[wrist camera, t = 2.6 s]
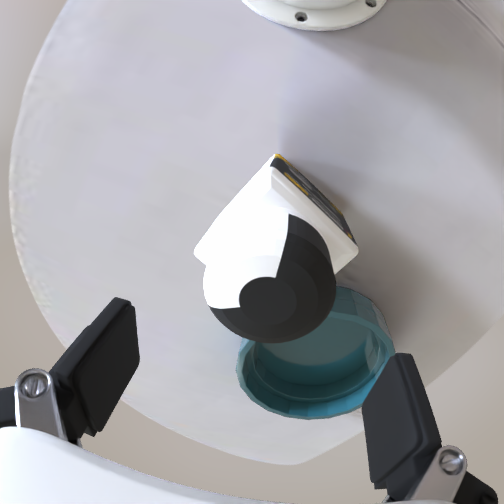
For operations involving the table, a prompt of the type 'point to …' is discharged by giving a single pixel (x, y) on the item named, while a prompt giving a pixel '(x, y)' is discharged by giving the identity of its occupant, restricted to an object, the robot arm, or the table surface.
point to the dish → (320, 363)
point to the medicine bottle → (275, 256)
